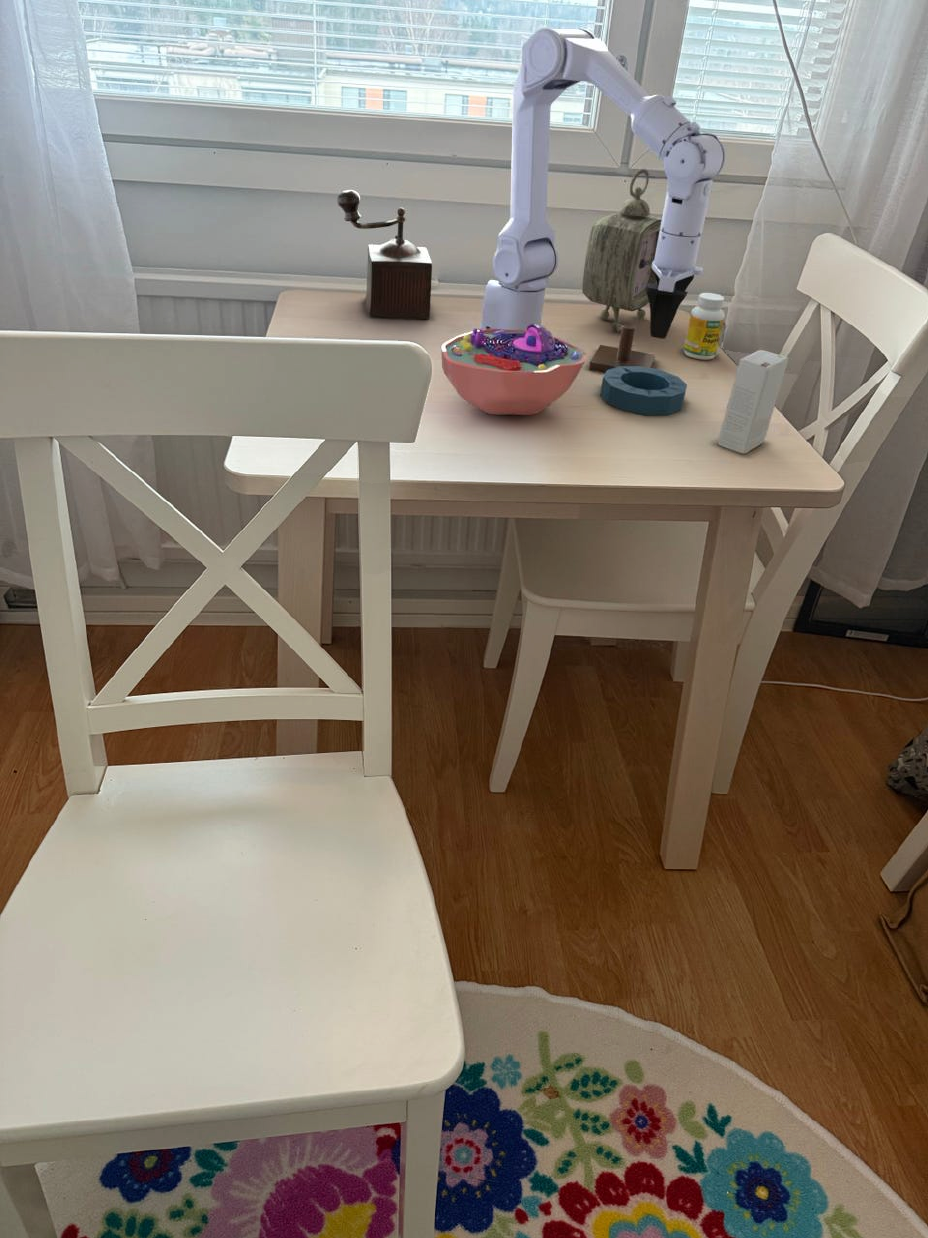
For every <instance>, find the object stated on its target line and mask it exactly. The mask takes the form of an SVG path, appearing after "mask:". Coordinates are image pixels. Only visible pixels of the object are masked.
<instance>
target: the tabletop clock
mask: <svg viewBox="0 0 928 1238" xmlns="http://www.w3.org/2000/svg"><path fill="white" fill-rule="evenodd" d="M642 174H644V176H645V184H644V185H643V188H641V187H640V186H637V187H635V189H634V188H633V187H634V184H635V182H636V180H637V178H638V177H639V176H640V175H642ZM649 181H650V174H649V171H648V170H647V169H646V168H640V169H638V170H637V171H635V172H634V174H633V176H632V177H631V181H630V186H629V194H630V196H631V198H628V199H626V200H625V201H624V202H623V203H622V204H621V207H620V208H619V211H616V212H614V213H612V214H609V215H606V216H604V217H602V218H600V219H598V220H596V221H595V222H594V223H593V224H592V225H591V229H590V232H589V237H588V241H587V248H586V254H585V259H584V260H585V261H584V267H583V275H582V283H581V284H582V285H581V288H582V292H581V293H582V294H583V295H584V296H585V297H586V298H587V299H588V300H589V301H590V302H591V303H596V304H600V305H603V306H605V309H603V310H602V311H600V314H599V317H600V319H602V320H605V321H606V320H608V319H609V317H610V312H609V310H610V309H612V311H613V317H614V322H613V324H612V326H611V330H612V331H613V332H615V333H620V332H621V331H622V324H621V322H619V317H620V316H619V315H620V310H624V311H628V312H636V317H637V318H638V319H644V318H645V317H646V310H645V309H643V307H645V306H646V305H649V300H648V296H647V293H646V286H647V284H648V283H651V284H657V281H656V277H655V274H654V273H655V272H654V270H653V269H652V262H653V261H654V259H655V253H656V248H657V242H658V237H659V232H660V227H661V221H662V217H658V216H654V215H651V210H650V206H649V204H648V202H647V201H645V200H644V199H642V198H641V196H643V194H645V192H646V190H647V188H648V185H649ZM634 190H635V191H634Z"/></svg>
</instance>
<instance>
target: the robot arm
mask: <svg viewBox="0 0 928 1238" xmlns="http://www.w3.org/2000/svg"><path fill="white" fill-rule="evenodd" d="M581 82H586V83H587V82H588V83H590V84H592V85H593V86H594V87H595V88H597V89H598V90H599V91H600V92H601V93H602V94H603V95H605V96H606V97H607V98H608V99H609V100H610V101H612V102H613V103H614V104H615V105H616V106H618V107H619V108H620V109H621V110H622V111H623V112H624V113H625V114H627V116H629V117H630V118H631V124H630V125H631V126H630V127H631V131H632V133H633V134H634V135H635V136H636V137H637V138H638V139H639V140H640V141H641V142H642V143H643V144H644V145H645V146H646V147H647V148H648V149H649V150H650V151H651V152H652V153H653V154H654V155H655V156H656V157H657V158H658V159H659V160H660V161H661V162H662V163H663V169H664V173H665V175H666V178H667V186H666V193H665V194H666V195H665V199H664V206H663V211H662V216H661V218H662V221H661V227H660V232H659V237H658V242H657V248H656V253H655V259H654V261H653V262H652V269H653V270H654V272H655V273H654V274H655V277H656V281H657V284H651V283H648V284H647V286H646V293H647V296H648V300H649V303H648V306H649V318H650V319H649V331H650V332H649V333H650V337H651V338H655V339H660V340H661V339H662V340H665V339H666V338H667V336H668V333H669V331H670V329H671V326H672V324H673V321H674V320H675V318H676V314H677V312H678V309H679V307H680V306H681V304H682V302H683V301H684V300H685V298H686V297H687V295H688V291H686V290H687V289H688V287H689V286H690V284H691V283H692V282H693V280H694V278H695V276H702V275H703V271H704V268H703V267H701V266H696V262H697V258H698V252H699V248H700V243H701V240H702V234H703V229H704V224H705V221H706V215H707V212H708V207H709V206H708V205H709V202H710V196H711V191H712V186H713V181H714V180H713V179H714V178H716V177H717V176H718V175H719V174H720V173H721V171H722V170H723V168H724V166H725V161H726V152H725V148H724V145H723V143H722V142H721V140H720V139H719V137H718V136H717V134H715V133H712V132H703V133H701V131H700V130H701V125H700V124H698V122H696V121H693V122H691V121H690V120H689V119H688V118H687V117H686V116H685V115H684V114H683V113H682V112H681V111H680V110H679V109H678V108H676V105H677V100H676V99H675V98H674V97H673V96H671V95H669V96H668V95H667V96H664V95H663V94H654V95H649V94H648V93H647V92H646V90H645V89H644V88H643V87H642V86H641V85H640V83H638V81H636V79H634V77H633V76H632V75H631V74H630V72H628V70H626V68H624V67H623V65H622V64H621V63H620V62H619V61H618V60H617V59H616V57H615V56H614V55H613V54H612V53H611V52H610V51H609V50H608V47H607V45H606V43H605V42H604V41H602V40H601V39H599V38H597V37H596V36H595V35H594V33H593V32H592V31H590V30H589V29H585V28H578V29H560V28H559V29H558V28H557V29H555V28H551V27H542V28H539V29H537V30H536V31H535V32H534V33H533V34H532V35H531V36H530V37H529V38H528V39H527V40H526V42H524V44H522V46H521V66H520V68H519V70H518V74H517V76H516V80H515V82H514V86H513V91H512V121H511V122H512V124H511V125H512V126H511V131H512V132H511V136H512V137H511V166H510V167H511V168H510V169H511V172H510V208H509V210H510V215H509V221H508V222H507V223H506V224H505V226H504V227H503V228H502V230H501V231H500V232H499V234H498V235H497V247H496V250H495V252H494V255H493V258H492V269H493V273H494V276H495V278H496V279H490V280H488V282H487V284H486V287H485V290H484V295H483V299H482V308H481V309H482V311H481V321H480V330H482V329H505V330H526V329H527V327H528V325H530V324H538V325H541V326H542V318H543V312H544V311H543V310H544V303H545V295H546V287H547V285H548V284H549V278H550V277H551V276H553V275H554V273H555V272H556V270H557V268H558V264H559V253H558V252H559V251H558V250H557V246H556V242H555V230H554V229H553V227H552V225H551V224H550V223H549V222H548V220H547V206H548V205H547V204H548V203H547V202H548V180H549V178H548V177H549V154H550V131H551V130H550V129H551V109H552V108H551V107H552V105H553V104H554V102H555V101H556V100H557V99H558V98H559V97H561V95H562V94H563V93H564V92H565V91H566V90H567V89H568V88H570V87H572V86H575V85H576V84H578V83H581Z"/></svg>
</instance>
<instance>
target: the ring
mask: <svg viewBox="0 0 928 1238" xmlns="http://www.w3.org/2000/svg"><path fill="white" fill-rule="evenodd" d="M687 386H688V384H687V383H686V382H685V381H684V380H682V379H681V378H680V376H677V375H675V374H672V373H670V372H667V371H664V370H662V369H658V368H653V367H652V368H647V367H641V366H620V367H616V368H613V369H609V370H607V371H606V372H604V374H603V377H602V381H601V387H600V393H599V396H600V397H601V398H602V400H604V402H605V403H606V404H608V405H610V406H612V407H614V408H616V409H619V410H621V411H624V412H627V413H628V412H629V413H632V414H633V413H634V414H637V415H638V414H639V415H644V416H668V415H672V414H674V413H677V412H681V410H682V408H683V405H684V400H685V396H686V392H687Z"/></svg>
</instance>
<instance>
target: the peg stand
mask: <svg viewBox="0 0 928 1238" xmlns="http://www.w3.org/2000/svg"><path fill="white" fill-rule="evenodd" d="M620 332H621V333H620V338H619V343H618V347H615V346H610V345H605V344H604V345H603V344H599V346H598V348H597V350H596V351H595V352H594V355H593V356H592V358H591V359H590V361H589V366H588V370H591V371H596V372H603V373H606V371H607V370H609V369H613V368H616V367H620V366H641V367H647V368H653V365H654V363H655V359H656V354H655V353H650V352H643V351H637V350H632V348H633V344H634V339H635V338H634V337H635V332H636V326H635V325H633V324H623V325H621V330H620Z"/></svg>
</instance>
